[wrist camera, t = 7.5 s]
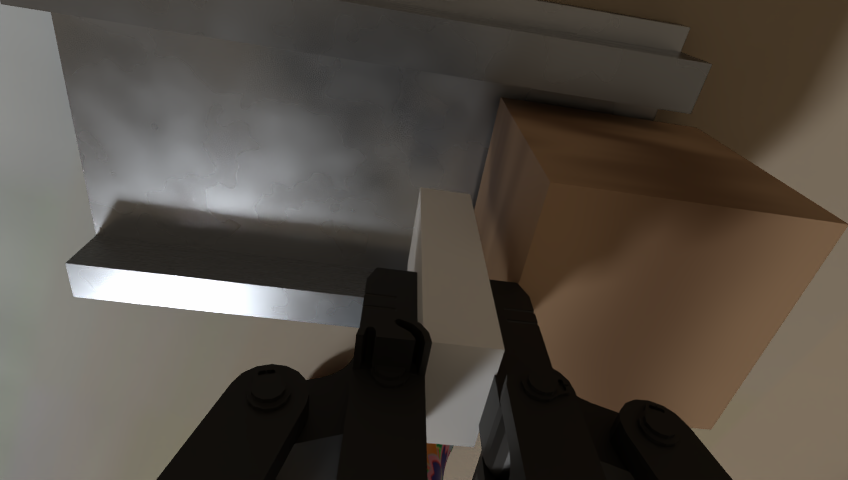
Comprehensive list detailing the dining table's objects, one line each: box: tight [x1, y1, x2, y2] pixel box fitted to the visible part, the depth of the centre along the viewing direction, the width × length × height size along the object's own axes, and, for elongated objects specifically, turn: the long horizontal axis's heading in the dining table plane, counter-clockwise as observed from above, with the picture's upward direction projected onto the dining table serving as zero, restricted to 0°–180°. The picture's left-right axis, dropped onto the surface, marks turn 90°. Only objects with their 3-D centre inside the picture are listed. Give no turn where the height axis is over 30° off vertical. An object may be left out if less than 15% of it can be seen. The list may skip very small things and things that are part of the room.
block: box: [474, 97, 848, 429], centre depth 16 cm, size 7×7×7 cm
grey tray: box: [0, 0, 712, 328], centre depth 18 cm, size 20×13×3 cm, turn 81°
